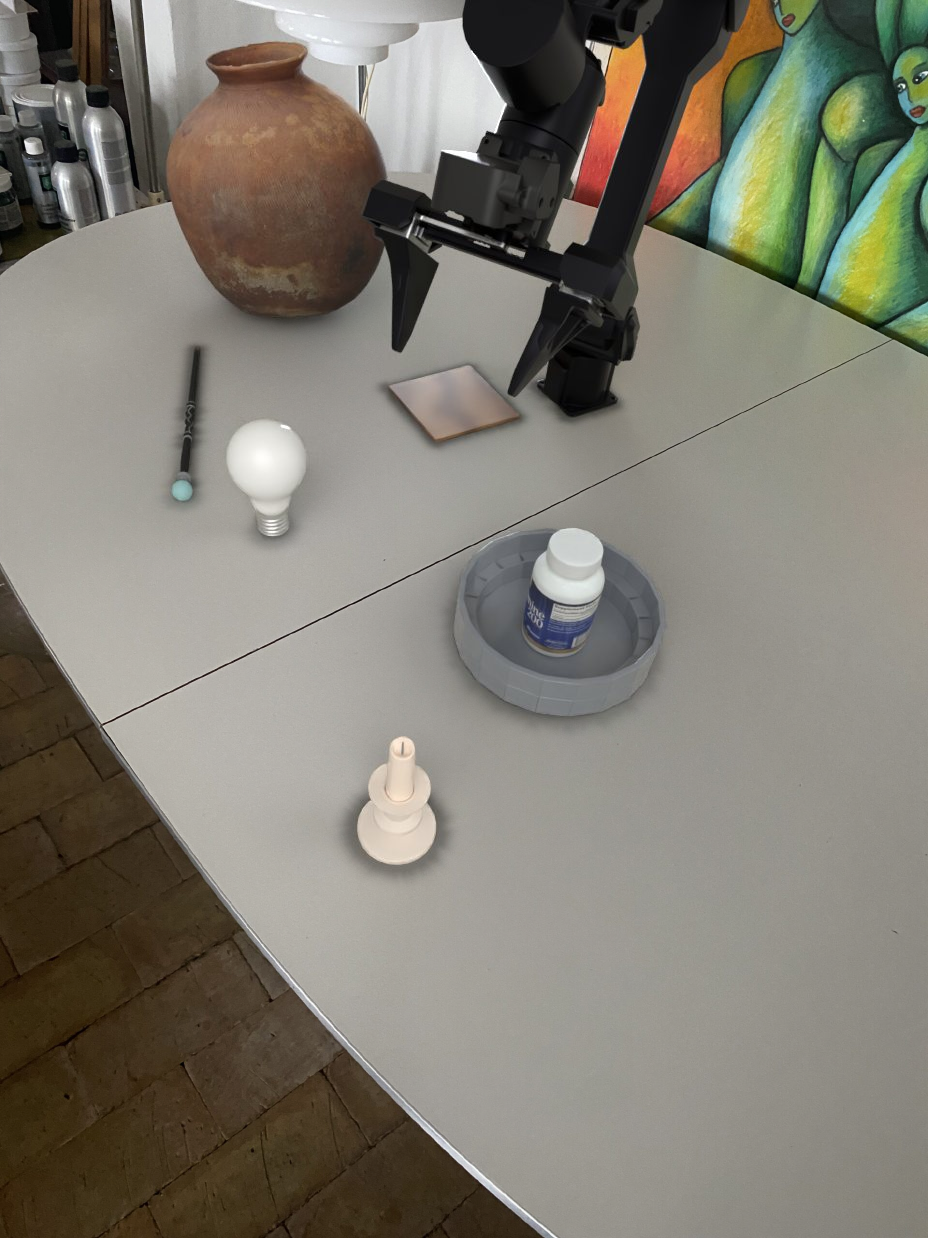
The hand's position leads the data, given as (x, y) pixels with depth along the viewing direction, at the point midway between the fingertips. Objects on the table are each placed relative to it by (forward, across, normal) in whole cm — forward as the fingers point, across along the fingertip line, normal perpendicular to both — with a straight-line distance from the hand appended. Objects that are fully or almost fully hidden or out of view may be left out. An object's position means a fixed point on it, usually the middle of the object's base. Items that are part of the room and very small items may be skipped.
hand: (452, 373), depth 61 cm
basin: (+16, +12, +10) cm, 22 cm away
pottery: (-2, -36, +34) cm, 50 cm away
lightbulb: (+18, -14, +8) cm, 24 cm away
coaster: (+2, -10, +28) cm, 30 cm away
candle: (+29, +10, -7) cm, 32 cm away
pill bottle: (+16, +12, +10) cm, 22 cm away
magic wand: (+13, -30, +14) cm, 35 cm away
